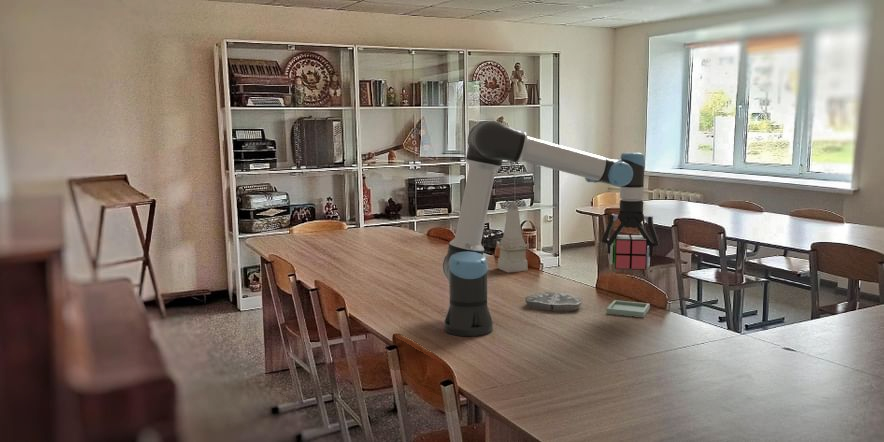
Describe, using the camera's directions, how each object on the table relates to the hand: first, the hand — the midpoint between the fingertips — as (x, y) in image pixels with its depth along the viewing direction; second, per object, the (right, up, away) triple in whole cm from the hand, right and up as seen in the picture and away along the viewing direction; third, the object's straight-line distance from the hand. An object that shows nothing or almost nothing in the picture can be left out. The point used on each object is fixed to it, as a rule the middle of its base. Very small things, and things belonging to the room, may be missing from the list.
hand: (629, 264), depth 232 cm
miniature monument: (-32, -7, +71) cm, 79 cm away
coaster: (0, -16, +2) cm, 16 cm away
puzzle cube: (0, -1, 0) cm, 1 cm away
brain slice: (-24, -15, +10) cm, 30 cm away
